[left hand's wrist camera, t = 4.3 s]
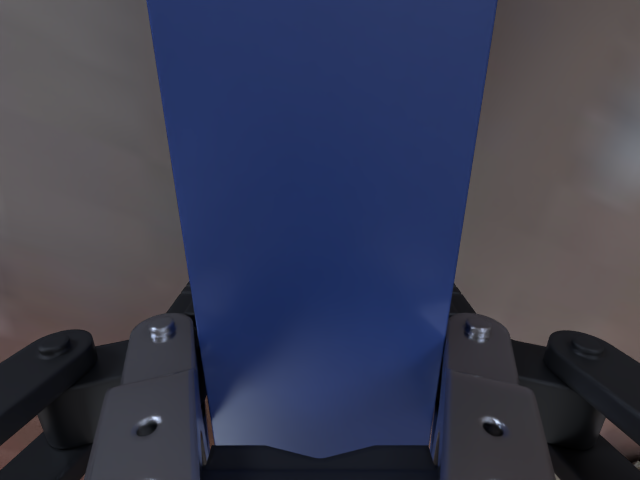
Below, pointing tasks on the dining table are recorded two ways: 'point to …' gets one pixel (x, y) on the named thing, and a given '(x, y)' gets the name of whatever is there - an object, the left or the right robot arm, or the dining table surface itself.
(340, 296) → the bar
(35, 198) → the dining table surface
